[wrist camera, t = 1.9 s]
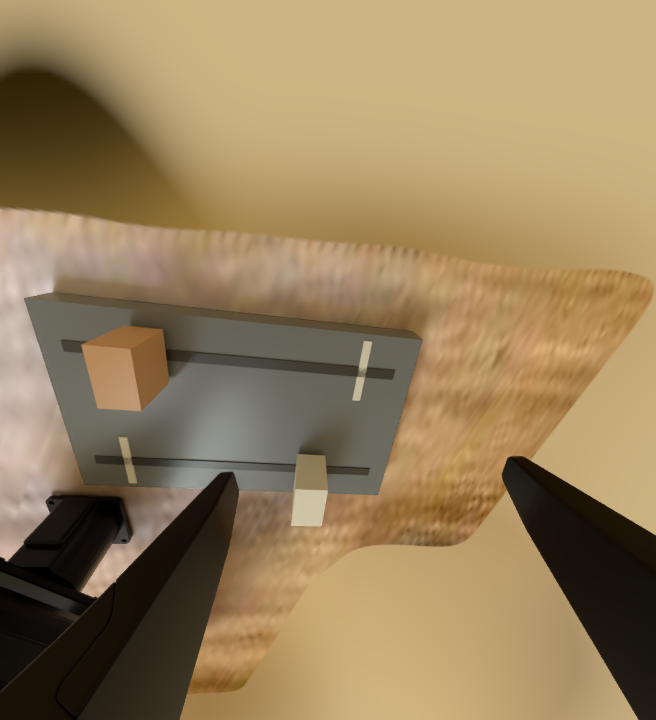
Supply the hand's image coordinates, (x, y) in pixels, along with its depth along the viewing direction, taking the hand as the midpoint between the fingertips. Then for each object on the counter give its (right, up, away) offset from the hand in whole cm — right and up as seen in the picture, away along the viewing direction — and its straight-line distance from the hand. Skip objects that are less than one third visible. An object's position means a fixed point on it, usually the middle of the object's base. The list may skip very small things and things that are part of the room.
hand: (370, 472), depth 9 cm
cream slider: (-3, -6, +15) cm, 16 cm away
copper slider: (-14, +4, +9) cm, 17 cm away
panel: (-9, 0, +14) cm, 17 cm away
